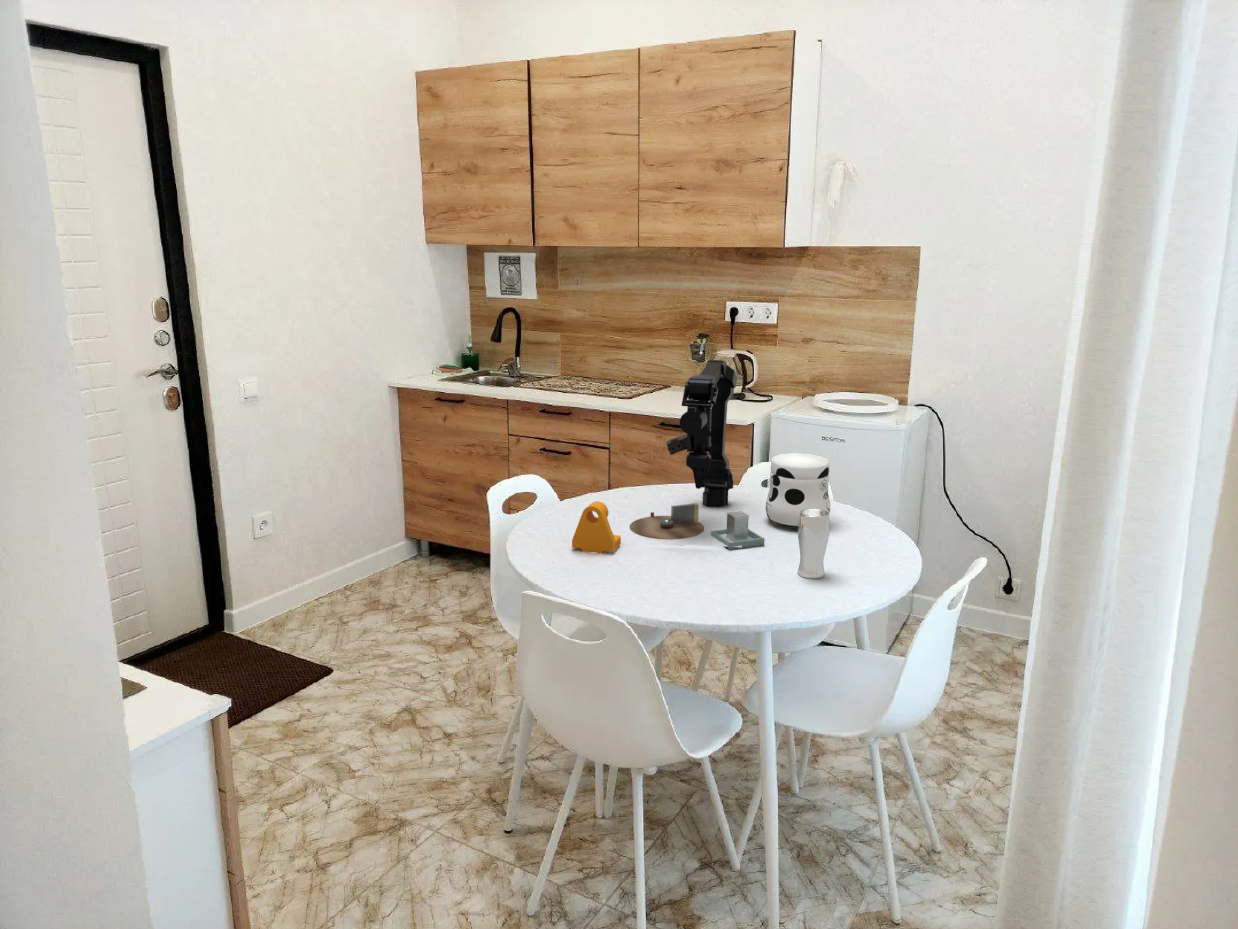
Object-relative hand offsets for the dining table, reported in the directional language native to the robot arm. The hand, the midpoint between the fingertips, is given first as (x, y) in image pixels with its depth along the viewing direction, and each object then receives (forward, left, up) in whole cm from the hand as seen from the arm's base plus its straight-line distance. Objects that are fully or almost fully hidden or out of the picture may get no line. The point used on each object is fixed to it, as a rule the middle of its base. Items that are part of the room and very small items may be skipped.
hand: (698, 484), depth 228 cm
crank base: (+7, -4, -13) cm, 15 cm away
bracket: (+29, +2, -13) cm, 32 cm away
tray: (-6, +11, -13) cm, 18 cm away
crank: (+4, -4, -12) cm, 13 cm away
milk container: (-29, +3, -13) cm, 32 cm away
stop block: (-6, +11, -12) cm, 18 cm away
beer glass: (-11, +37, -13) cm, 41 cm away
